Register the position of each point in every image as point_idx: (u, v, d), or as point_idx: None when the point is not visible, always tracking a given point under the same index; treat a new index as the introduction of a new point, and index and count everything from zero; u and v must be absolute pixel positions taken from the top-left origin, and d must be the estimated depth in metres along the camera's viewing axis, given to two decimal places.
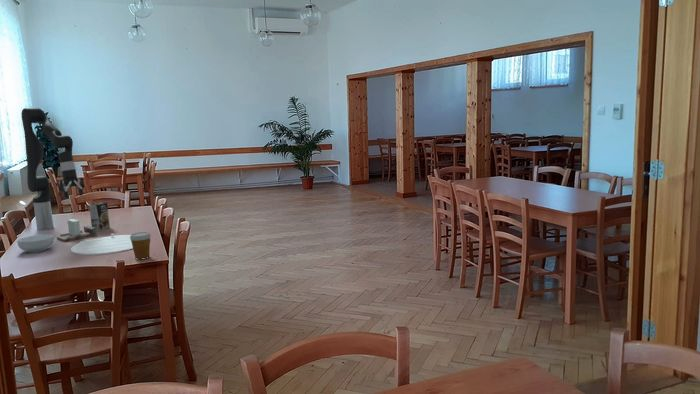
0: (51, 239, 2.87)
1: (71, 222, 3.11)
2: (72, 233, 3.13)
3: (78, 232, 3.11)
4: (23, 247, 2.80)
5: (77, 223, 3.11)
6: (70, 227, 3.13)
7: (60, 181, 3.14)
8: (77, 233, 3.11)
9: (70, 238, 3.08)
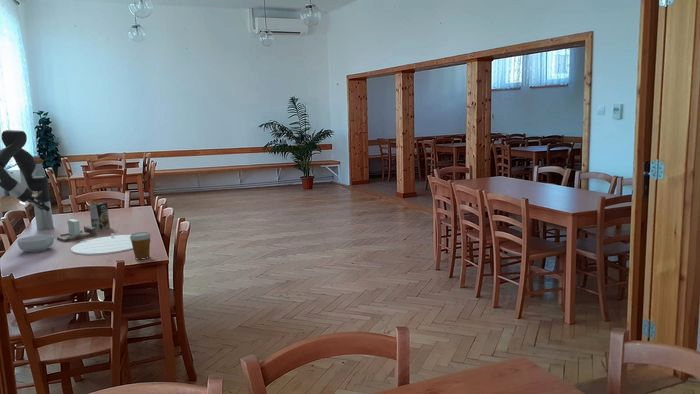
0: (51, 239, 2.87)
1: (71, 222, 3.11)
2: (72, 233, 3.13)
3: (78, 232, 3.11)
4: (23, 247, 2.80)
5: (77, 223, 3.11)
6: (70, 227, 3.13)
7: None
8: (77, 233, 3.11)
9: (70, 238, 3.08)
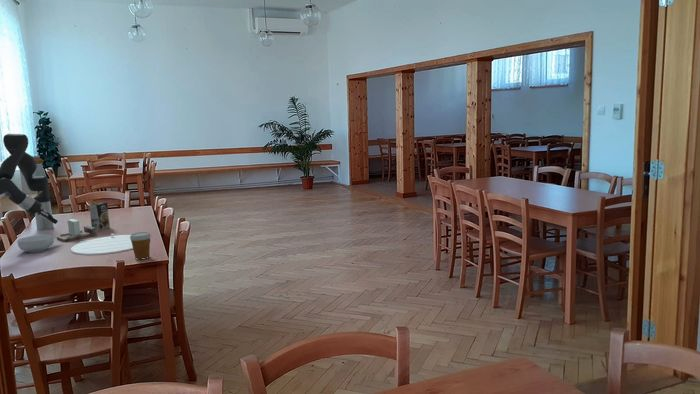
0: (51, 239, 2.87)
1: (71, 222, 3.11)
2: (72, 233, 3.13)
3: (78, 232, 3.11)
4: (23, 247, 2.80)
5: (77, 223, 3.11)
6: (70, 227, 3.13)
7: None
8: (77, 233, 3.11)
9: (70, 238, 3.08)
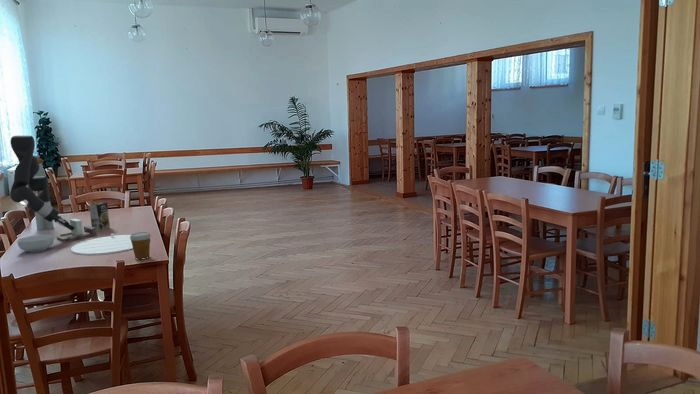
0: (51, 239, 2.87)
1: (73, 222, 3.12)
2: (74, 233, 3.14)
3: (80, 232, 3.12)
4: (23, 247, 2.80)
5: (80, 223, 3.12)
6: (73, 226, 3.14)
7: None
8: (79, 233, 3.12)
9: (70, 238, 3.08)
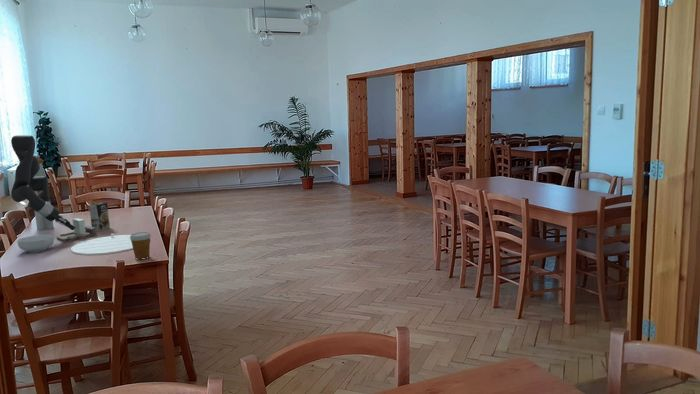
0: (51, 239, 2.87)
1: (76, 221, 3.13)
2: (77, 232, 3.15)
3: (83, 231, 3.14)
4: (23, 247, 2.80)
5: (83, 222, 3.13)
6: (75, 226, 3.15)
7: None
8: (82, 232, 3.13)
9: (70, 238, 3.08)
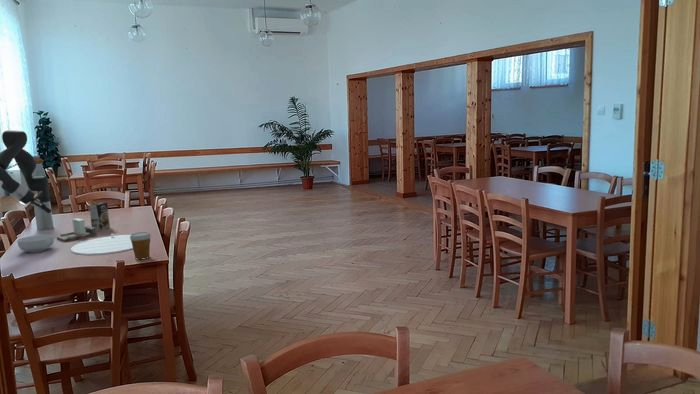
0: (51, 239, 2.87)
1: (76, 221, 3.13)
2: (77, 232, 3.15)
3: (83, 231, 3.14)
4: (23, 247, 2.80)
5: (83, 222, 3.13)
6: (75, 226, 3.15)
7: None
8: (82, 232, 3.13)
9: (70, 238, 3.08)
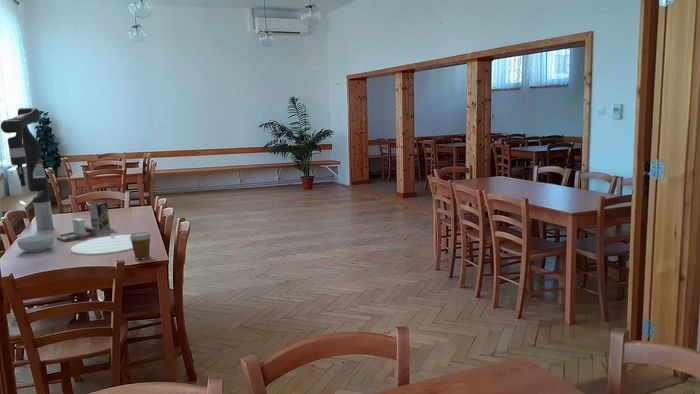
0: (51, 239, 2.87)
1: (76, 221, 3.13)
2: (77, 232, 3.15)
3: (83, 231, 3.14)
4: (23, 247, 2.80)
5: (83, 222, 3.13)
6: (75, 226, 3.15)
7: None
8: (82, 232, 3.13)
9: (70, 238, 3.08)
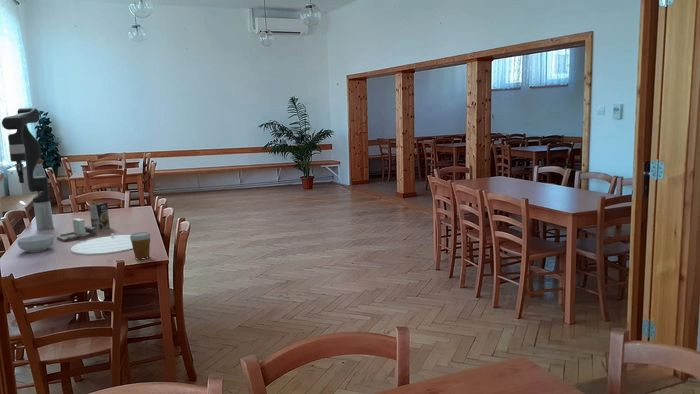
0: (51, 239, 2.87)
1: (76, 221, 3.13)
2: (77, 232, 3.15)
3: (83, 231, 3.14)
4: (23, 247, 2.80)
5: (83, 222, 3.13)
6: (75, 226, 3.15)
7: None
8: (82, 232, 3.13)
9: (70, 238, 3.08)
